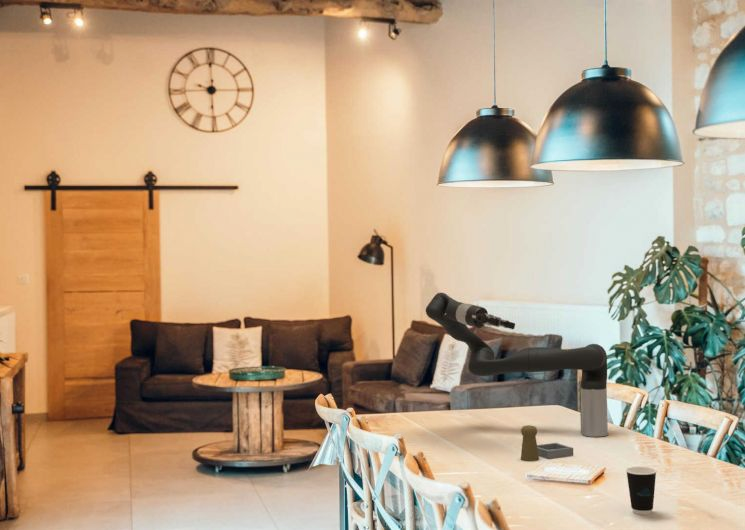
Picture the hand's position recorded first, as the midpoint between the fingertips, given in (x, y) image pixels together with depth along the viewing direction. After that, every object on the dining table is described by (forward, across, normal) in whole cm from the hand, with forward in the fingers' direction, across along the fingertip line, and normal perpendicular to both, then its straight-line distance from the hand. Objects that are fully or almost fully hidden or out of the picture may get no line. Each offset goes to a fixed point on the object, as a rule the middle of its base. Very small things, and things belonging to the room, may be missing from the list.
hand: (506, 324), depth 327 cm
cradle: (+21, -13, -38) cm, 46 cm away
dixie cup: (+81, +28, -37) cm, 93 cm away
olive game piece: (+20, -3, -41) cm, 46 cm away
